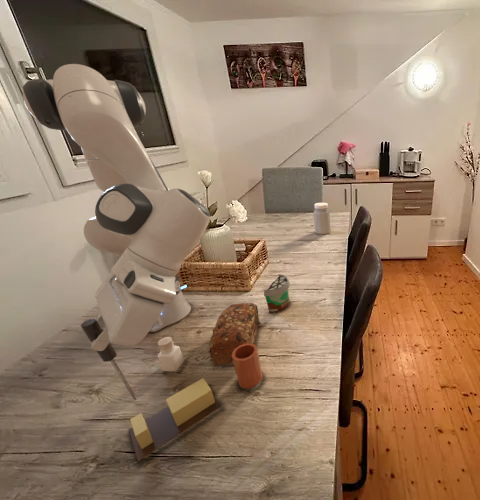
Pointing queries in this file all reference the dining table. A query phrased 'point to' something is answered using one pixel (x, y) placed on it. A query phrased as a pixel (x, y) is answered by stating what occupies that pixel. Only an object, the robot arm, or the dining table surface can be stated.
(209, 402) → the butter block
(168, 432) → the butter board
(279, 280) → the food container
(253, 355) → the crock
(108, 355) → the dark grey rod
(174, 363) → the pepper shaker
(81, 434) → the dining table surface
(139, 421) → the butter slice
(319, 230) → the jar
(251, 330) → the bread
